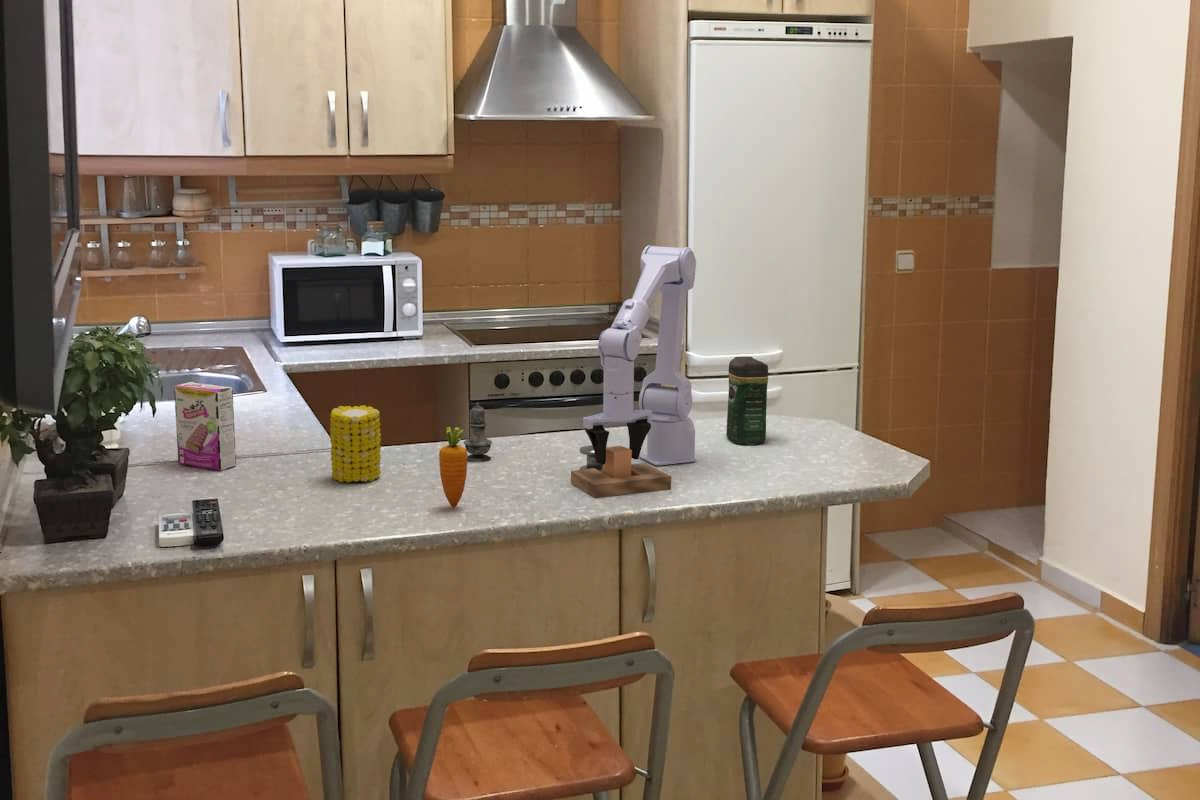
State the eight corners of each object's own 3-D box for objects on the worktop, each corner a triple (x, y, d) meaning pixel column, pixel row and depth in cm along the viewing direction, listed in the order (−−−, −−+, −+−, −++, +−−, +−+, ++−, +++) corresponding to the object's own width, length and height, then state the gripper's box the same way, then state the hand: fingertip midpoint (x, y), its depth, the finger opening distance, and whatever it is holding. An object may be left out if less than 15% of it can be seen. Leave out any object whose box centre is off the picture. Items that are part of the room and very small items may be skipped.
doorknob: (601, 466, 266) (602, 444, 265) (614, 473, 261) (614, 450, 260) (574, 469, 263) (574, 446, 263) (587, 476, 258) (587, 453, 257)
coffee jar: (770, 444, 286) (773, 361, 282) (735, 446, 284) (738, 362, 280) (755, 435, 295) (758, 353, 291) (722, 436, 293) (724, 354, 290)
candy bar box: (176, 465, 263) (172, 385, 260) (194, 460, 267) (189, 381, 264) (220, 472, 258) (216, 390, 255) (237, 466, 263) (233, 386, 259)
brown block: (619, 480, 256) (620, 445, 254) (631, 485, 252) (631, 449, 251) (602, 483, 254) (602, 447, 252) (613, 487, 250) (614, 452, 249)
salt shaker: (487, 463, 268) (487, 405, 265) (460, 461, 269) (459, 404, 266) (495, 456, 273) (495, 399, 271) (468, 454, 274) (468, 398, 272)
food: (377, 478, 261) (377, 494, 251) (318, 467, 258) (316, 483, 249) (393, 406, 258) (394, 419, 248) (333, 394, 255) (332, 407, 245)
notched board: (645, 475, 260) (645, 462, 259) (671, 488, 250) (671, 476, 249) (570, 483, 253) (570, 470, 252) (594, 497, 243) (594, 484, 243)
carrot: (440, 503, 238) (439, 423, 235) (467, 503, 239) (467, 423, 236) (439, 511, 233) (438, 429, 230) (467, 511, 234) (466, 429, 231)
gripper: (638, 384, 256) (637, 451, 259) (574, 391, 249) (574, 461, 251) (659, 390, 250) (657, 459, 253) (594, 398, 243) (594, 469, 246)
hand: (617, 460), depth 252 cm, fingers open, 7 cm apart
